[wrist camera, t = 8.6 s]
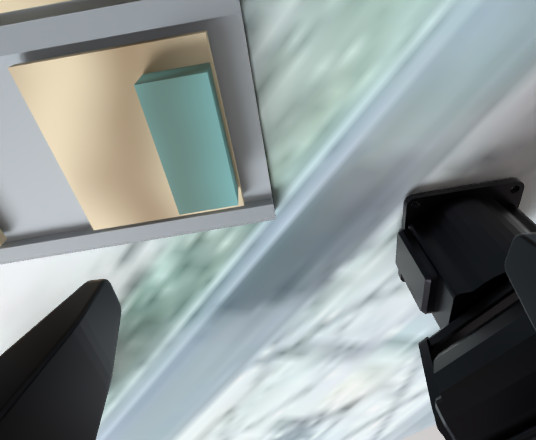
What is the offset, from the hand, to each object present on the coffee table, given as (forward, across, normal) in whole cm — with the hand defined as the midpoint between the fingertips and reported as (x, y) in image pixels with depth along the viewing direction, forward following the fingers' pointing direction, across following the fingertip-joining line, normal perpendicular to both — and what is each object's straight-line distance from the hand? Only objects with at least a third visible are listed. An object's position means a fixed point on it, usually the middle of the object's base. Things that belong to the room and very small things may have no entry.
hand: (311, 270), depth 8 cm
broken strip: (+11, +13, +1) cm, 17 cm away
